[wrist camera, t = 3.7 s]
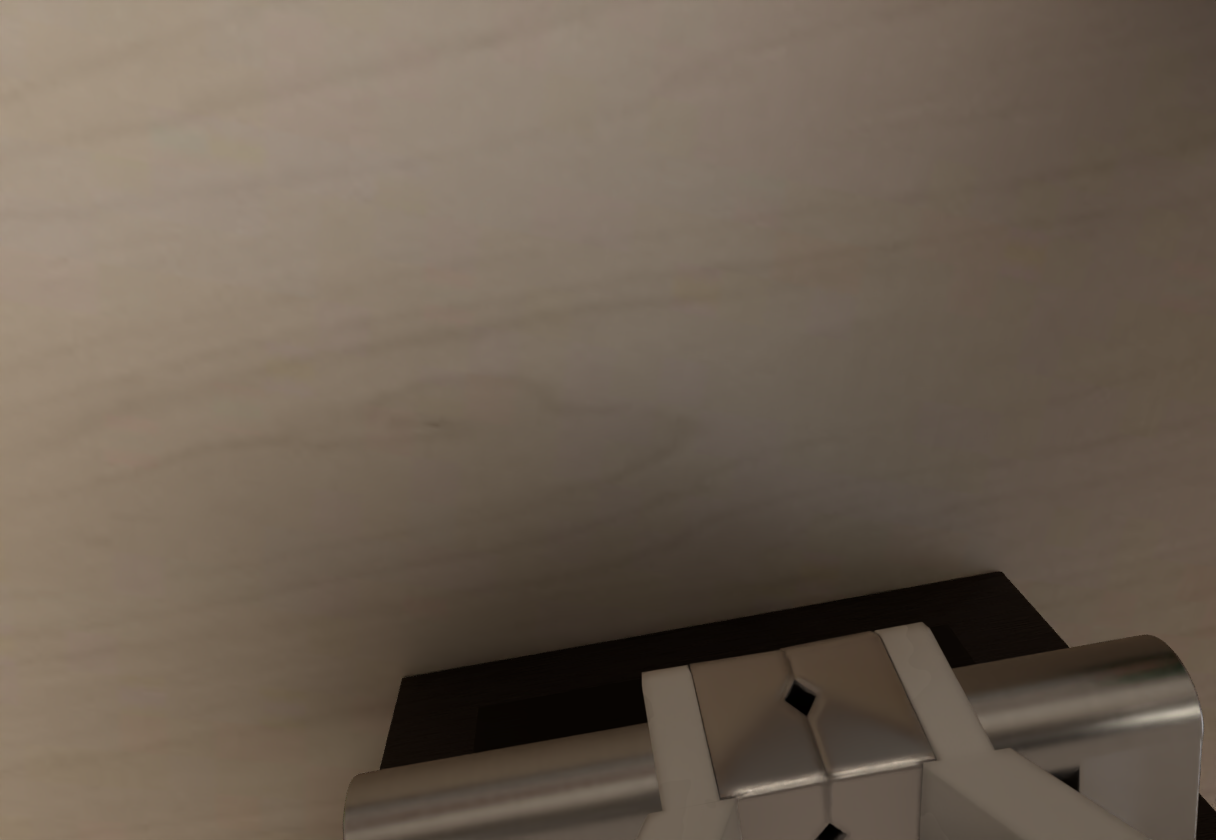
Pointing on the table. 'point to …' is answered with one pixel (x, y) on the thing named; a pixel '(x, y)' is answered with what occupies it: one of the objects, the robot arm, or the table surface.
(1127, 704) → the oven door
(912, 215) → the table surface
